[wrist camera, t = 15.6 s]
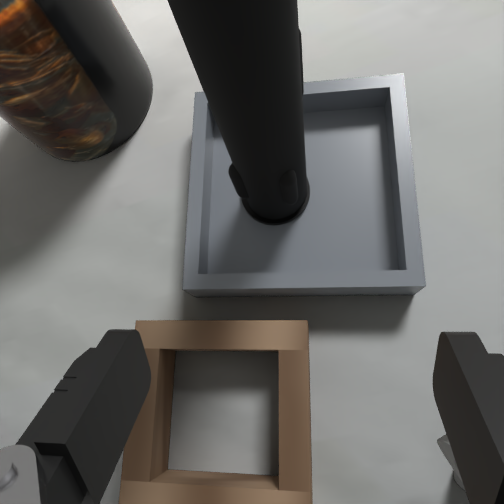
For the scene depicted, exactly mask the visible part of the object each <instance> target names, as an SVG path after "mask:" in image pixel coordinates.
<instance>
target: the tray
mask: <svg viewBox="0 0 504 504" xmlns="http://www.w3.org/2000/svg"><path fill="white" fill-rule="evenodd" d="M303 85H304V93H303V96H302V100H303V118H304V137H305V155H306V174H307V178H308V181H309V185H310V198H309V202H308V204H307V206H306V208H305V210H304V211H303V212H302V213H301V214H300V215H299V216H298V217H297V218H296V219H294V220H292V221H291V222H288V223H286V224H282V225H266V224H262V223H260V222H258V221H256V220H254V219H253V218H252V217H251V216H250V215H249V214H248V213H247V212H246V210H245V208H244V206H243V203H242V200H241V197H240V196H238V194H237V192H236V190H235V188H234V186H233V183H232V181H231V179H230V177H229V173H228V170H229V167H230V165H231V164H232V161H231V158H230V156H229V153H228V151H227V148H226V146H225V143H224V141H223V138H222V136H221V133H220V131H219V128H218V126H217V123H216V121H215V118H214V116H213V113H212V111H211V108H210V106H209V103H208V101H207V98H206V96H205V93H204V92H195V101H194V116H193V132H192V148H191V163H190V179H189V195H188V210H187V226H186V242H185V257H184V273H183V290H184V291H186V292H188V293H190V294H191V295H193V296H195V297H252V296H344V295H415V294H416V293H417V292H419V291H420V290H421V289H423V288H424V287H425V286H426V282H425V272H424V263H423V253H422V243H421V234H420V224H419V215H418V205H417V196H416V186H415V177H414V167H413V157H412V148H411V138H410V129H409V119H408V110H407V100H406V90H405V81H404V73H401V74H390V75H380V76H369V77H358V78H347V79H336V80H325V81H314V82H303Z"/></svg>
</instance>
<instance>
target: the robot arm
mask: <svg viewBox="0 0 504 504" xmlns="http://www.w3.org/2000/svg"><path fill="white" fill-rule="evenodd" d="M63 377H64V378H63V380H61V381H60V382H59V383H58V385H57V386H56V388H55V389H54V390H55V391H54V393H51V395H50V396H49V398H48V399H47V401H46V402H45V403H44V405H43V406H42V408H41V409H40V411H39V412H38V413H37V415H36V416H35V418H34V419H33V421H32V422H31V423H30V425H29V426H28V428H27V429H26V431H25V432H24V433H23V435H22V436H21V438H20V439H19V441H18V442H17V443H16V444H15V445H12V446H8V447H5V448H2V449H0V504H100V501H101V499H102V497H103V494H104V492H105V490H106V488H107V485H108V483H109V481H110V478H111V476H112V474H113V472H114V469H115V467H116V465H117V462H118V460H119V458H120V456H121V453H122V451H123V449H124V447H125V444H126V442H127V440H128V437H129V435H130V433H131V431H132V428H133V426H134V424H135V421H136V419H137V417H138V415H139V412H140V410H141V408H142V406H143V403H144V401H145V399H146V396H147V394H148V392H149V389H150V384H151V370H150V366H149V362H148V359H147V356H146V352H145V349H144V346H143V342H142V339H141V336H140V333H139V332H138V331H137V330H122V329H111V330H108V331H107V332H106V334H105V335H104V337H103V338H102V340H101V341H100V343H99V344H98V346H97V347H96V348H90V349H88V350H87V351H86V352H85V353H83V354H82V355H81V356H80V357H79V358H77V359H76V360H75V361H74V362H73V363H72V365H71V366H70V368H69V369H68V371H67V372H66V373H65V375H64V376H63ZM433 391H434V397H435V401H436V404H437V407H438V410H439V413H440V416H441V419H442V422H443V425H444V428H445V431H446V434H447V437H448V440H449V443H450V446H451V449H452V452H453V455H454V458H455V461H456V464H457V467H458V470H459V473H460V476H461V479H462V482H463V485H464V488H465V491H466V494H467V497H468V500H469V502H470V504H504V356H503V355H502V354H488V353H487V351H486V349H485V347H484V345H483V343H482V342H481V340H480V338H479V336H478V335H477V334H476V333H475V332H441V334H440V336H439V341H438V347H437V354H436V360H435V366H434V372H433Z"/></svg>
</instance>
